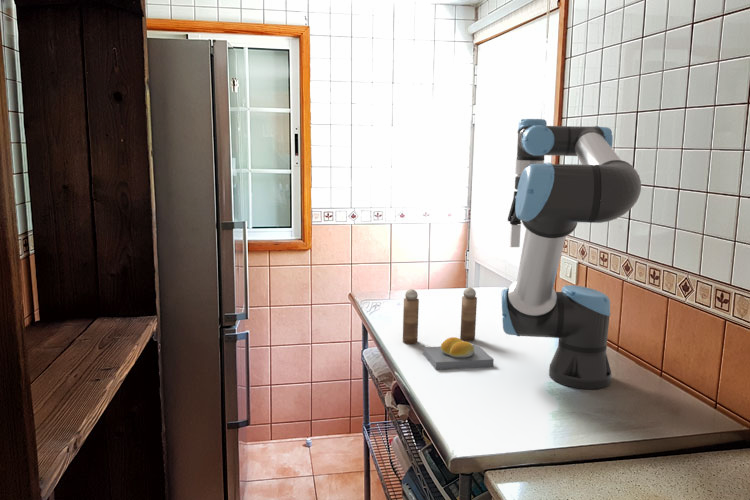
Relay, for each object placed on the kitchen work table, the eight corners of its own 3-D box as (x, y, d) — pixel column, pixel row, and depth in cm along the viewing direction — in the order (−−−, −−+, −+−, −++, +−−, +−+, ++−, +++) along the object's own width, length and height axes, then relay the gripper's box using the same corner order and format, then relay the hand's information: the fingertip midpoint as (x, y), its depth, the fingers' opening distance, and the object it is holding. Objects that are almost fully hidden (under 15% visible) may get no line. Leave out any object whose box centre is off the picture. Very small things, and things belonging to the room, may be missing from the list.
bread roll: (460, 361, 163) (460, 346, 163) (435, 351, 170) (436, 337, 169) (480, 354, 169) (481, 340, 168) (456, 345, 175) (456, 332, 175)
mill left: (419, 343, 183) (420, 291, 180) (404, 344, 182) (406, 291, 179) (415, 339, 187) (416, 287, 184) (401, 339, 186) (402, 287, 183)
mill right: (476, 341, 186) (479, 289, 183) (463, 341, 185) (465, 289, 182) (471, 336, 190) (474, 285, 188) (458, 337, 190) (460, 286, 187)
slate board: (493, 366, 166) (493, 359, 165) (435, 369, 162) (435, 362, 162) (477, 351, 177) (477, 344, 177) (423, 354, 174) (423, 347, 174)
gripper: (563, 179, 160) (557, 259, 164) (522, 173, 184) (518, 243, 188) (536, 178, 159) (531, 259, 163) (499, 173, 183) (495, 243, 187)
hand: (524, 251), depth 176 cm, fingers open, 13 cm apart
